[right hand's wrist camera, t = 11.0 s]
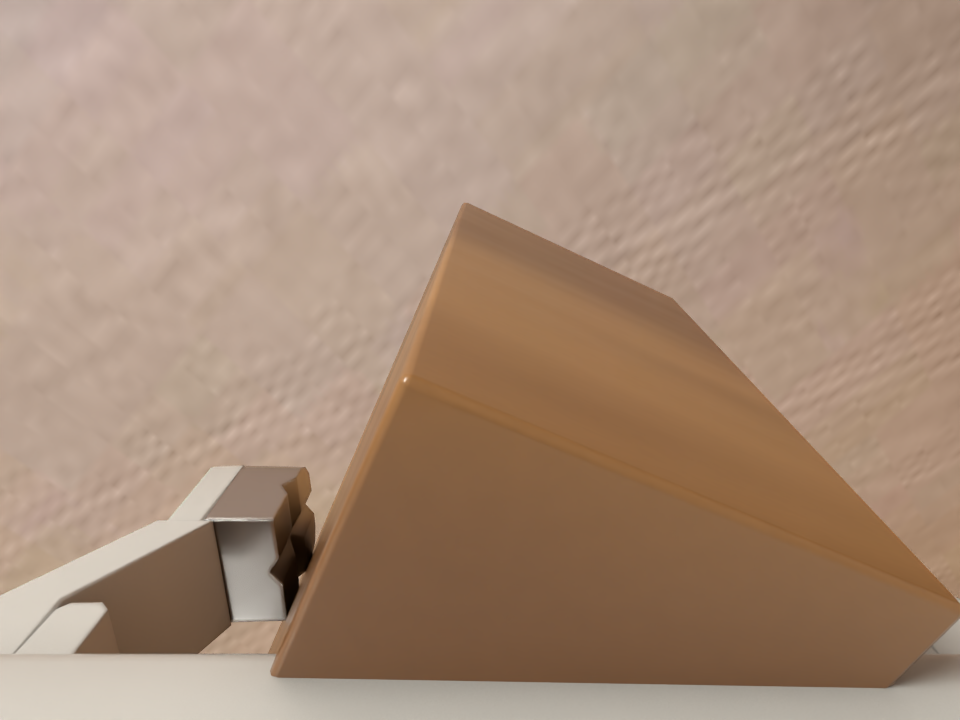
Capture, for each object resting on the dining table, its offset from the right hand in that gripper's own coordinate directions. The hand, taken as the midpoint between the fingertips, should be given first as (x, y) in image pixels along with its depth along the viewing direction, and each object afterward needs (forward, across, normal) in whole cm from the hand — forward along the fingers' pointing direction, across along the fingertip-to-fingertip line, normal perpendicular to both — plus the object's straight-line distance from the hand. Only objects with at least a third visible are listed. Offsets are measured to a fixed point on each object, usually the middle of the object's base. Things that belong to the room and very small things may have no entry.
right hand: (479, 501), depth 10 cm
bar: (+3, -3, -6) cm, 8 cm away
